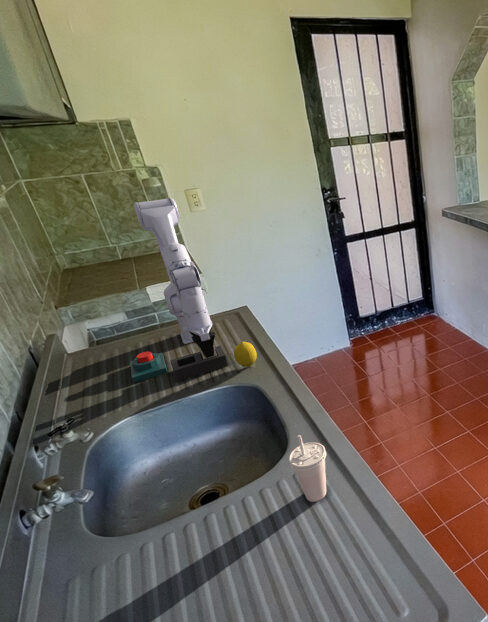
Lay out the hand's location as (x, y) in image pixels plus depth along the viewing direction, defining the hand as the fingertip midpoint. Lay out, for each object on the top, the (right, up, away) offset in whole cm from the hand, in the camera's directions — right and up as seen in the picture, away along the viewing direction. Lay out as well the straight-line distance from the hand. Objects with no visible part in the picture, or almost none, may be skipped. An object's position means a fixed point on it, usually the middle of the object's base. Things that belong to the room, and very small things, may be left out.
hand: (208, 353), depth 128 cm
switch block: (-17, -5, +1) cm, 18 cm away
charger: (0, -2, +1) cm, 2 cm away
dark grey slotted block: (-2, -4, 0) cm, 5 cm away
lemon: (+11, -4, 0) cm, 12 cm away
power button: (-17, -2, -1) cm, 17 cm away
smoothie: (+44, -23, -43) cm, 66 cm away
